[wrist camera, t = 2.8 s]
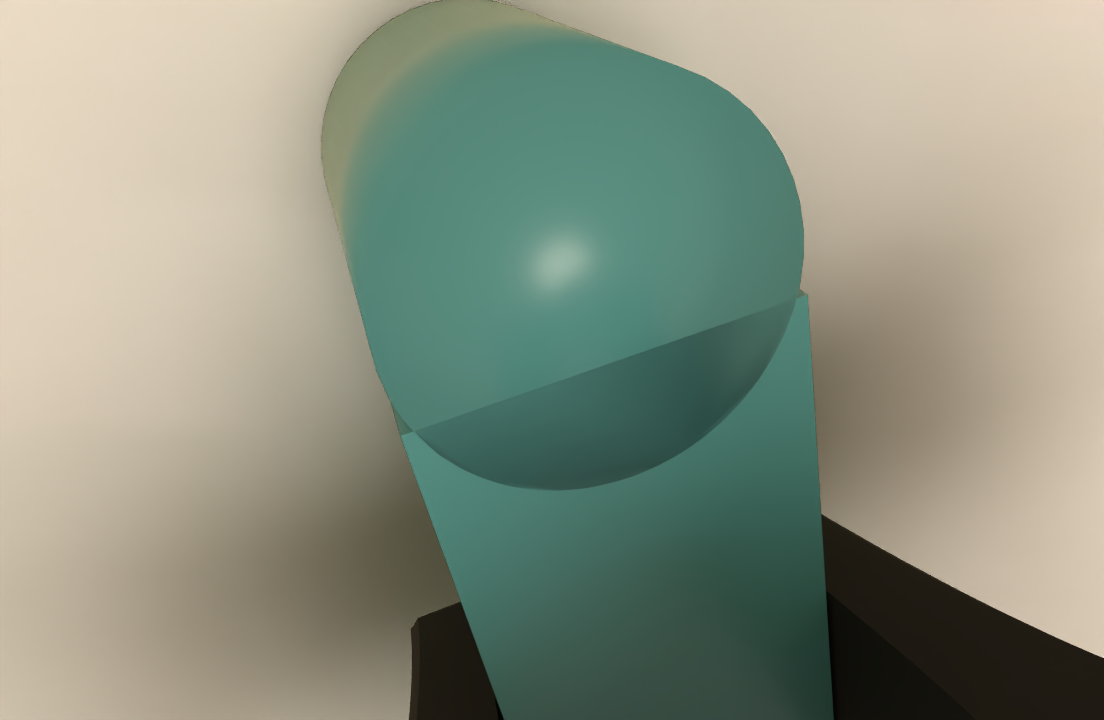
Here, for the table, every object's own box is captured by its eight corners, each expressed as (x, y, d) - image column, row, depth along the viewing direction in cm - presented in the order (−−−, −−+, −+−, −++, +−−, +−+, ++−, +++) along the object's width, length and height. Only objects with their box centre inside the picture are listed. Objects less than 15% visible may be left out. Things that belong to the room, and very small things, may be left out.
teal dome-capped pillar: (716, 763, 15) (851, 1011, 12) (556, 833, 15) (647, 1112, 11) (575, -37, 9) (789, -3, 5) (275, 45, 8) (291, 140, 5)
